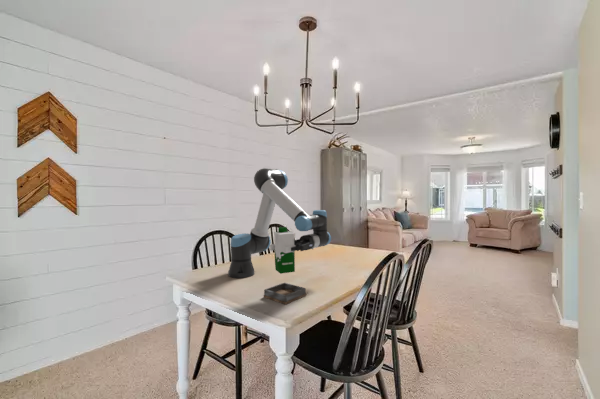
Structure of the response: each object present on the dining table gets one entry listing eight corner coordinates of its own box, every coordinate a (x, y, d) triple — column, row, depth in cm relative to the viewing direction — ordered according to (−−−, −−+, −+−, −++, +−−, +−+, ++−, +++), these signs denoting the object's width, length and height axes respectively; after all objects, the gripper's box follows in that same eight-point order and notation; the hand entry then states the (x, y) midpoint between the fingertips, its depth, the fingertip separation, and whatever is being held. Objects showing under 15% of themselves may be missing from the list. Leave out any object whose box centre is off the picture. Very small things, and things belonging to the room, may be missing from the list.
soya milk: (290, 267, 143) (289, 226, 142) (297, 272, 135) (296, 228, 134) (272, 269, 140) (272, 227, 139) (279, 274, 131) (278, 229, 131)
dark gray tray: (263, 297, 137) (263, 289, 137) (284, 289, 147) (284, 282, 147) (285, 304, 128) (285, 296, 128) (306, 295, 138) (306, 288, 138)
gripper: (326, 251, 144) (295, 260, 126) (293, 246, 158) (261, 254, 140) (326, 236, 143) (295, 243, 126) (293, 232, 157) (261, 238, 140)
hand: (277, 248), depth 133 cm, fingers closed on soya milk, 9 cm apart
